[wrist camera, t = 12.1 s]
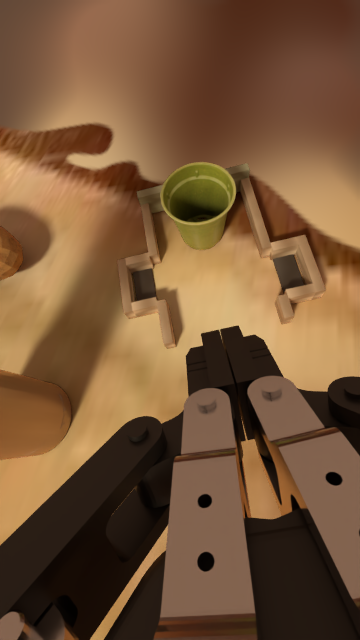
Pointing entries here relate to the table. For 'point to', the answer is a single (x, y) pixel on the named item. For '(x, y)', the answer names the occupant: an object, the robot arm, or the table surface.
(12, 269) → the potato
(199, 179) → the plant pot
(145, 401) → the table surface
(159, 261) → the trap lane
